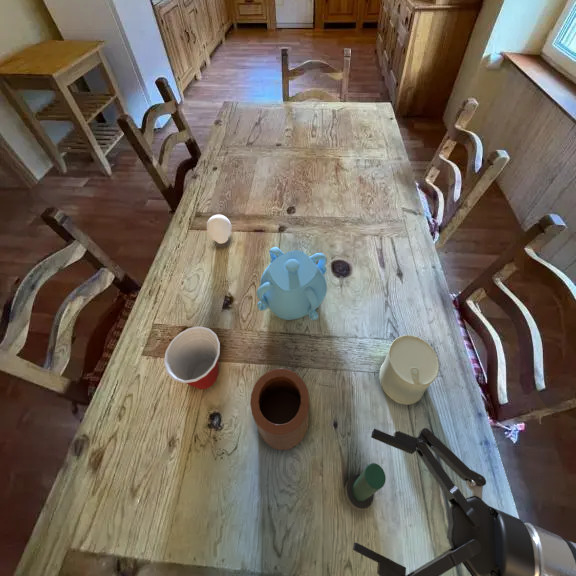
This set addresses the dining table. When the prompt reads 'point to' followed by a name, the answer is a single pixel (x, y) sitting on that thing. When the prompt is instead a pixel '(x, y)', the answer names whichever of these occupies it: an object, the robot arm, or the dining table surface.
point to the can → (408, 369)
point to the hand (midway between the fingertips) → (363, 484)
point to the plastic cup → (193, 357)
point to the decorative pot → (293, 284)
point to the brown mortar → (280, 408)
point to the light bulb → (219, 230)
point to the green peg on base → (364, 487)
